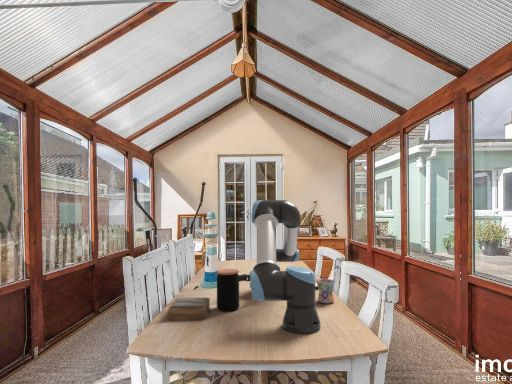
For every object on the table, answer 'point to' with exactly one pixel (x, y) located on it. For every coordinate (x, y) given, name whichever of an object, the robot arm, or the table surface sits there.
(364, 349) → the table surface
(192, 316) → the walnut stand
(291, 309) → the robot arm
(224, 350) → the table surface
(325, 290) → the mug
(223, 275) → the coffee jar
